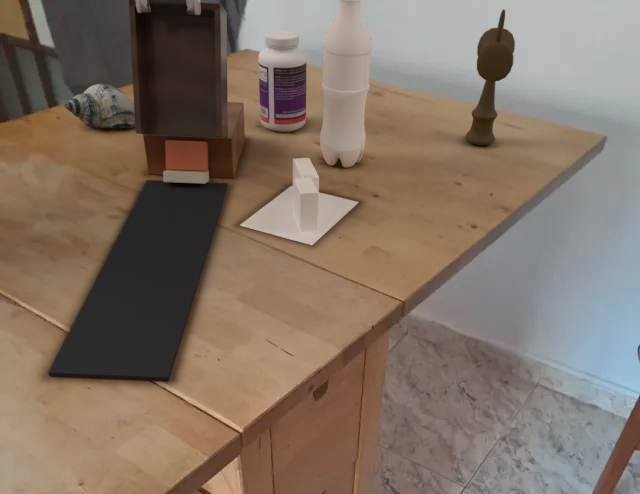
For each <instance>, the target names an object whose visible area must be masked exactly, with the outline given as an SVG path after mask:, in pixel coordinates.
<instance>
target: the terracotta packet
mask: <svg viewBox="0 0 640 494" xmlns="http://www.w3.org/2000/svg"><path fill="white" fill-rule="evenodd" d="M165 152H166V169H172V170H196V171H208V142H204V141H180V140H165Z"/></svg>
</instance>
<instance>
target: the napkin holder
mask: <svg viewBox="0 0 640 494" xmlns="http://www.w3.org/2000/svg"><path fill="white" fill-rule="evenodd" d="M358 204H359V201H356V200H351V199H348V198H344V197H340V196H336V195H332V194H327V193H323V192H320V177H319V174H318V172H317V171H316V169H315V166H314V165H313V162H312V161H311V159H310V157H299V158H292V185H290V186H288V187H287V189H285V190H284V191H283V192H281V193H279V195H277V196H276V197H275V198H273V199H272V200H271V201H270V202H268V203H267V204H265V205H264V206H263V207H261V208H260V209H258V210H257V211H256V212H255V213H254V214H252V215H251V216H250V217H248V218H247V219H246V220H244V221H243V222H242V223H240V224H239V226H240V227H243V228H247V229H251V230H254V231H258V232H262V233H266V234H269V235H273V236H277V237H279V238H284V239H287V240H290V241H295V242H298V243H302V244H305V245H309V246H314V244H315V243H316V242H318V241H319V240H320V239H321V238H322V237H323V236H324V235H325V234H326V233H327V232H328V231H329V230H331V229H332V228H333V227H334V226H335V225H336V224H337V223H338V222H339V221H340V220H341V219H342V218H344V217H345V216H346V215H347V214H348V213H349V212H350V211H351V210H352V209H353V208H354V207H356V206H357V205H358Z"/></svg>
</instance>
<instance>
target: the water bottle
mask: <svg viewBox="0 0 640 494" xmlns="http://www.w3.org/2000/svg"><path fill="white" fill-rule="evenodd" d="M362 9H363V8H362V0H338V4H337V8H336V12H335V14H334V15H333V18H332V19H331V22H330V24H329V26H328V28H327V30H326V32H325V35H324V38H323V43H322V49H323V60H322V82H321V90H322V97H323V118H322V125H321V130H320V134H319V146H320V151H321V154H322V157H323V159H324V161H325V163H326V164H327V165H329V166H331V167H333V166H334V165H336V163H337V162H338V160H340V163H341V165H342V167H343V168H351V167H353V166H354V165H356V163H360V161H361V159H362V158H363V156H364V152H365V148H366V139H367V134H366V127H365V111H366V103H367V98H368V94H369V90H370V87H371V85H370V74H371V73H370V72H371V59H372V52H373V40H372V35H371V32H370V29H369V26H368V24H367V21H366V19H365V16H364V14H363V10H362Z"/></svg>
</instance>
